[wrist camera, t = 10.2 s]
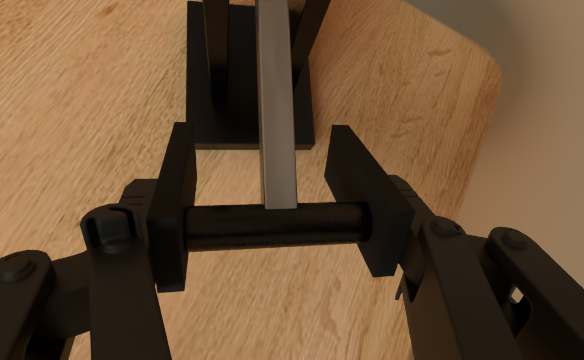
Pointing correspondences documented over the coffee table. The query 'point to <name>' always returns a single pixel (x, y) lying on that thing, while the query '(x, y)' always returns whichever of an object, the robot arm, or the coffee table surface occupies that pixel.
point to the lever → (275, 168)
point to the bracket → (243, 72)
